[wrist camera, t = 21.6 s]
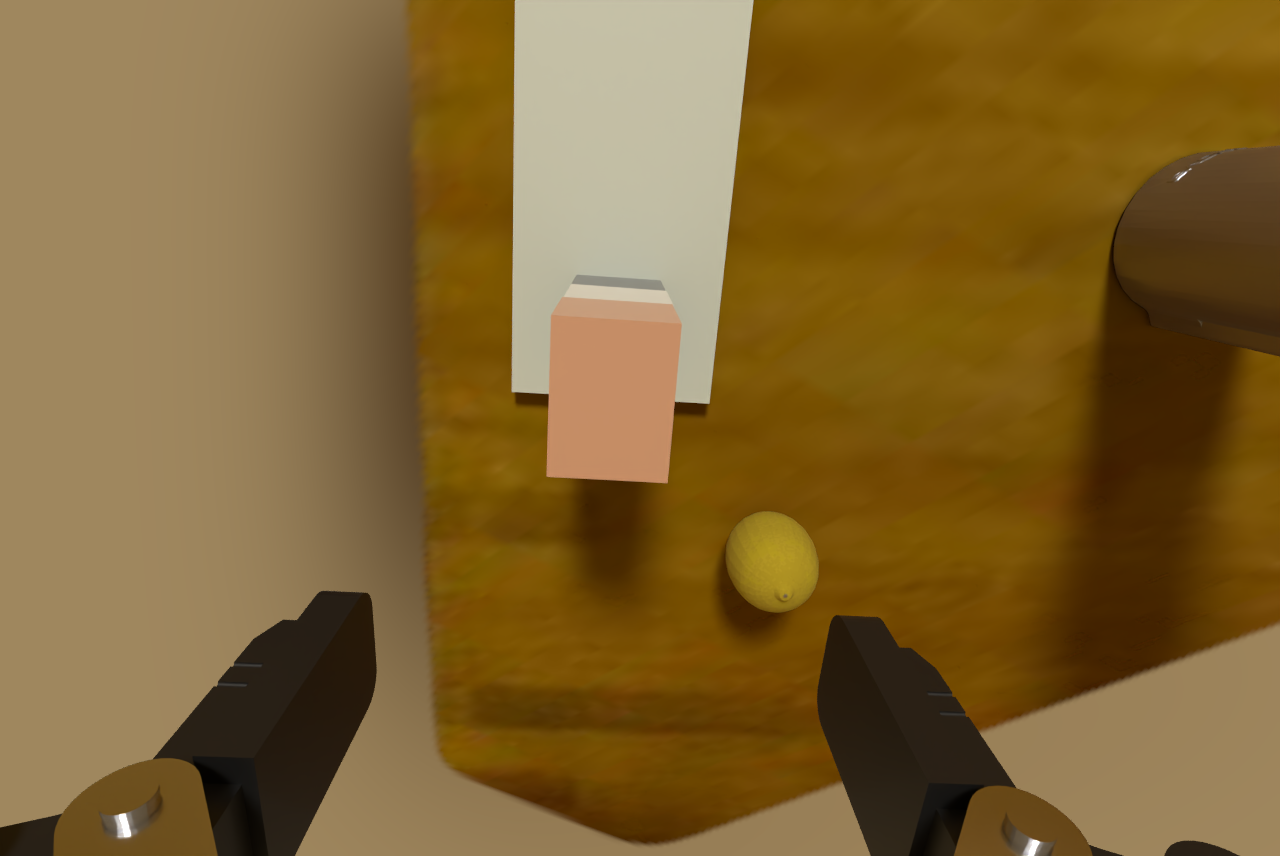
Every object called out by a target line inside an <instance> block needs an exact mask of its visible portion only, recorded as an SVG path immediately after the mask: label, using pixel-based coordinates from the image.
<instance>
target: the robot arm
mask: <svg viewBox="0 0 1280 856" xmlns="http://www.w3.org/2000/svg"><path fill="white" fill-rule="evenodd" d="M1113 261H1114V266H1115V271H1116V276H1117V278H1118V280H1119V282H1120V285H1121V287H1122V289H1123V290H1124V291H1125V293H1126V294H1127V295H1128V296H1129V297H1130V299H1131V300H1133V301H1134V302H1135V303H1137V304H1138V305H1140V306H1141V307H1143V308H1144V309H1145V310H1146V311H1147V312H1148V315H1149V318H1150V324H1151V326H1153V327H1157V328H1162V329H1166V330H1170V331H1174V332H1179V333H1183V334H1187V335H1191V336H1195V337H1200V338H1204V339H1208V340H1212V341H1216V342H1221V343H1225V344H1229V345H1233V346H1238V347H1242V348H1246V349H1250V350H1254V351H1259V352H1263V353H1267V354H1271V355H1276V356H1280V146H1271V147H1260V148H1237V149H1228V150H1225V151H1215V152H1205V153H1197V154H1194V155H1191V156H1188V157H1184V158H1181V159H1179V160H1177V161H1176V162H1174V163H1172V164H1170V165H1168V166H1166V167H1164V168H1163V169H1162V170H1161V171H1159V172H1158V173H1157V174H1155V175H1154V176H1153V177H1151V178H1150V179H1149V180H1148V181H1147V182H1146V183H1145V184H1144V185H1143V187H1142V188H1141V189H1140V190H1139V191H1138V192H1137V193H1136V194H1135V196H1134V197H1133V199H1132V201H1131V202H1130V204H1129V205H1128V207H1127V208H1126V210H1125V212H1124V214H1123V217H1122V219H1121V221H1120V223H1119V226H1118V229H1117V233H1116V238H1115V242H1114V260H1113ZM375 682H376V653H375V638H374V624H373V611H372V601H371V598H370V595H369V594H368V593H359V592H337V591H321V592H319V593H318V594H317V595H316V596H315V598H314V599H313V600H312V602H311V603H310V604H309V605H308V607H307V608H306V609H305V611H304V612H303V613H302V614H301V616H300V617H299V618H298V619H297V620H282V621H280V622H279V623H277V624H276V625H274V626H273V627H271V628H270V629H268V630H267V631H265V632H264V633H262V634H260V635H259V636H257V637H256V638H254V639H253V640H252V641H251V643H250V644H249V645H248V646H247V647H246V649H245V650H244V651H243V652H242V653H241V655H240V656H239V657H238V658H237V659H236V661H235V662H234V666H233V667H230V668H229V669H228V670H227V671H226V673H225V674H224V675H223V676H222V677H221V679H220V680H219V681H218V685H217V687H213V688H212V689H211V690H210V692H209V693H208V694H207V695H206V696H205V698H204V699H203V700H202V701H201V702H200V704H199V705H198V706H197V707H196V708H195V710H194V711H193V712H192V713H191V714H190V715H189V717H188V718H187V719H186V720H185V722H184V723H183V724H182V725H181V726H180V727H179V729H178V730H177V731H176V732H175V733H174V735H173V736H172V737H171V738H170V740H168V742H167V743H166V744H165V745H164V746H163V748H162V749H161V750H160V751H159V752H158V754H157V755H156V756H155V757H154V758H153V759H152V760H147V761H143V762H139V763H136V764H132V765H129V766H127V767H124V768H122V769H119V770H117V771H115V772H113V773H111V774H109V775H107V776H105V777H103V778H102V779H100V780H99V781H97V782H95V783H94V784H92V785H91V786H90V787H88V788H87V789H86V790H84V791H83V792H82V793H81V794H80V795H79V796H77V797H76V798H75V799H74V800H73V801H72V802H71V803H70V805H69V806H68V807H67V808H66V809H65V811H64V812H63V814H59V815H55V816H51V817H47V818H42V819H37V820H33V821H28V822H24V823H19V824H14V825H10V826H6V827H1V828H0V856H295V854H296V852H297V850H298V848H299V846H300V844H301V842H302V840H303V838H304V836H305V834H306V832H307V830H308V828H309V826H310V824H311V822H312V820H313V818H314V816H315V814H316V812H317V810H318V808H319V806H320V804H321V802H322V800H323V798H324V796H325V794H326V792H327V790H328V788H329V786H330V784H331V782H332V780H333V778H334V776H335V774H336V772H337V770H338V768H339V766H340V764H341V762H342V760H343V758H344V756H345V754H346V752H347V750H348V748H349V746H350V744H351V742H352V740H353V738H354V736H355V734H356V732H357V730H358V728H359V726H360V724H361V722H362V720H363V718H364V716H365V714H366V712H367V710H368V708H369V705H370V703H371V700H372V697H373V693H374V688H375ZM817 704H818V713H819V719H820V723H821V726H822V729H823V731H824V734H825V737H826V739H827V742H828V745H829V747H830V750H831V752H832V755H833V758H834V760H835V763H836V766H837V768H838V771H839V773H840V776H841V779H842V781H843V784H844V787H845V789H846V792H847V794H848V797H849V800H850V802H851V805H852V807H853V810H854V813H855V815H856V818H857V820H858V823H859V826H860V829H861V831H862V833H863V836H864V839H865V842H866V844H867V847H868V849H869V852H870V855H871V856H1122V855H1119V854H1116V853H1112V852H1109V851H1106V850H1103V849H1099V848H1097V847H1094V846H1091V845H1089V844H1088V842H1087V840H1086V839H1085V837H1084V836H1083V834H1082V833H1081V831H1080V830H1079V829H1078V828H1077V827H1076V825H1075V824H1074V823H1073V822H1072V821H1071V820H1070V819H1069V818H1068V817H1067V816H1065V815H1064V814H1063V813H1062V812H1060V811H1059V810H1058V809H1057V808H1055V807H1054V806H1052V805H1051V804H1049V803H1048V802H1046V801H1045V800H1043V799H1041V798H1039V797H1037V796H1035V795H1033V794H1031V793H1028V792H1026V791H1023V790H1020V789H1017V788H1016V787H1015V785H1014V784H1013V782H1012V781H1011V779H1010V778H1009V776H1008V775H1007V773H1006V772H1005V770H1004V769H1003V767H1002V766H1001V764H1000V763H999V762H998V760H997V758H996V757H995V755H994V754H993V753H992V751H991V750H990V748H989V747H988V745H987V744H986V742H985V741H984V739H983V738H982V736H981V735H980V733H979V732H978V730H977V729H976V727H975V726H974V724H973V723H972V721H971V720H970V718H969V717H966V716H965V711H964V709H963V708H962V706H961V705H960V703H959V702H958V700H957V699H956V697H952V692H951V690H950V689H949V687H948V686H947V684H946V683H945V681H944V680H943V678H942V677H941V675H940V674H939V672H938V671H937V669H936V668H935V667H933V666H932V665H931V664H930V663H928V662H927V661H926V660H925V659H924V658H922V657H921V656H920V655H919V654H917V653H916V652H915V651H914V650H913V649H911V648H899V646H898V645H897V643H896V642H895V640H894V638H893V637H892V635H891V634H890V632H889V630H888V629H887V627H886V626H885V624H884V622H883V621H882V620H881V619H880V618H878V617H862V616H839V615H836V616H834V617H833V619H832V621H831V624H830V627H829V633H828V638H827V643H826V648H825V653H824V658H823V664H822V669H821V674H820V679H819V684H818V693H817ZM1165 856H1239V855H1236V854H1234V853H1232V852H1230V851H1228V850H1226V849H1223V848H1220V847H1218V846H1215V845H1211V844H1208V843H1204V842H1198V841H1180V842H1176V843H1174V844H1172V845H1171V846H1170V847H1169V848H1168V849H1167V851H1166V853H1165Z"/></svg>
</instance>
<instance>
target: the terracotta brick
mask: <svg viewBox="0 0 1280 856" xmlns="http://www.w3.org/2000/svg"><path fill="white" fill-rule="evenodd" d="M681 328H682V323H681V321H680V319H679V317H678V315H677V313H676V311H675V309H674V307H673V304H661V303H646V302H631V301H616V300H601V299H586V298H571V297H562V298H561V300H560V301H559V303H558V304H557V306H556V308H555V309H554V311H553V313H552V314H551V332H550V370H549V408H548V447H547V477H562V478H581V479H599V480H618V481H637V482H655V483H668V472H669V461H670V450H671V439H672V427H673V416H674V405H675V394H676V383H677V372H678V361H679V350H680V339H681Z"/></svg>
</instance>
